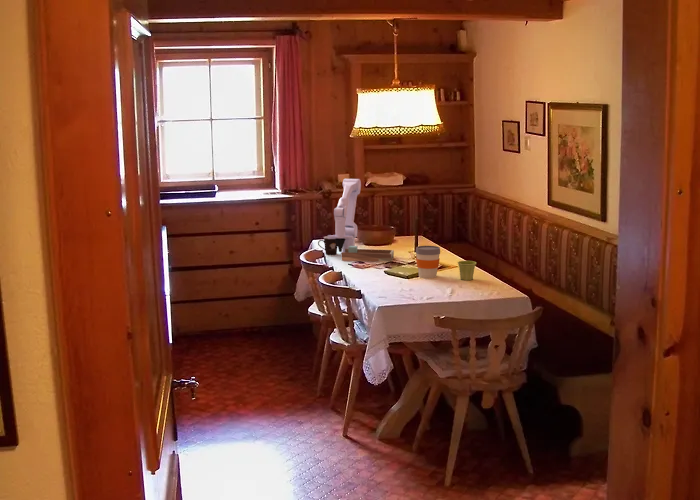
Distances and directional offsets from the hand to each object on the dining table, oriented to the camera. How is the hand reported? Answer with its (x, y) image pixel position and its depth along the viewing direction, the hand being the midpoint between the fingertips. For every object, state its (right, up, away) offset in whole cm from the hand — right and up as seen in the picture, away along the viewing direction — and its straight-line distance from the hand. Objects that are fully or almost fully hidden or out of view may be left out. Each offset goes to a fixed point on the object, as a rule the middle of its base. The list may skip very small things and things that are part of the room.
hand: (340, 251), depth 490 cm
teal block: (+7, -2, -1) cm, 7 cm away
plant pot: (+64, -14, -58) cm, 88 cm away
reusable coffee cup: (+45, -13, -51) cm, 70 cm away
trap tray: (+16, -4, -4) cm, 17 cm away
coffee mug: (-7, -2, +11) cm, 13 cm away
